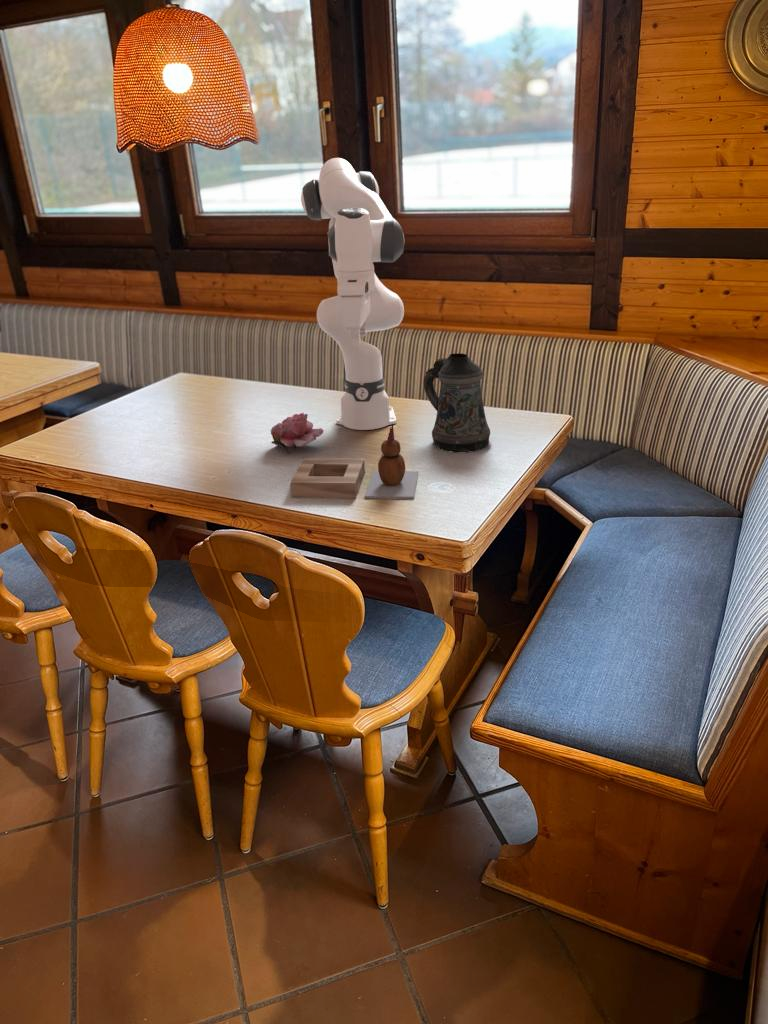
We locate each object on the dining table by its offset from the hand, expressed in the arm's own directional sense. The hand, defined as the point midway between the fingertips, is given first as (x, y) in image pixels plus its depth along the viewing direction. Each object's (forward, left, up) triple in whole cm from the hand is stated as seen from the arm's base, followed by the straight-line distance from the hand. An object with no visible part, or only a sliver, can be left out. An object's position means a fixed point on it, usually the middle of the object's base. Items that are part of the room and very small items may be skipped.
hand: (359, 340), depth 184 cm
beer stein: (-21, +23, -34) cm, 46 cm away
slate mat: (+10, +8, -34) cm, 36 cm away
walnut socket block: (+10, -8, -34) cm, 36 cm away
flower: (-16, -22, -34) cm, 44 cm away
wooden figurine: (+10, +8, -34) cm, 36 cm away
